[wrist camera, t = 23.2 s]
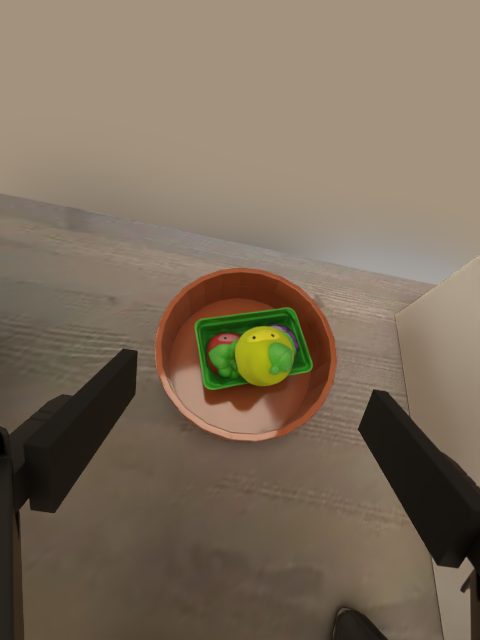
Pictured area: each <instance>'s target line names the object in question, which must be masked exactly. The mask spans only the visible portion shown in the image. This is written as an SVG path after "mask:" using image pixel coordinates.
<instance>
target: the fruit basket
mask: <svg viewBox="0 0 480 640" xmlns="http://www.w3.org/2000/svg"><path fill="white" fill-rule="evenodd" d="M195 333H196V338H197V344H198V350H199V357H200V364H201V372H202V379H203V384H204V386H205V387H206V388H207V389H209V390H216V389H221V388H226V387H232V386H237V385H242V384H248V383H251V384H253V385H256V386H270V385H273V384H277V383H279V382H281V381H282V380H284V379H285V378H286V377H287V376H290V375H295V374H301V373H307V372H309V371H311V370H312V366H313V363H312V360H311V357H310V355H309V351H308V348H307V345H306V342H305V339H304V336H303V333H302V330H301V327H300V324H299V320H298V318H297V315H296V313H295V311H294V310H293V309H291V308H288V307H285V308H279V309H272V310H265V311H257V312H250V313H241V314H235V315H227V316H219V317H212V318H203V319H200V320H198V321H197V322H196V323H195Z"/></svg>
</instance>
